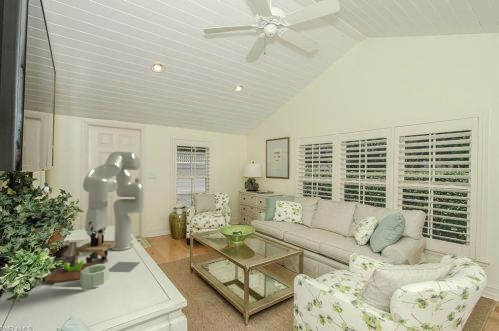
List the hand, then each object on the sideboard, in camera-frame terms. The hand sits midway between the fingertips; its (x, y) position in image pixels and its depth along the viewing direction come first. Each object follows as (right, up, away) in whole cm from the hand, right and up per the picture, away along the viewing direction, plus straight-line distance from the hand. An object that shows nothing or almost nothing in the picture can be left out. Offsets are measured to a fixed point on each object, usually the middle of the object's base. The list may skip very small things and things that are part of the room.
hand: (97, 244), depth 111 cm
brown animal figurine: (-13, -18, +22) cm, 31 cm away
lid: (0, -1, 0) cm, 1 cm away
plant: (-16, -18, +7) cm, 25 cm away
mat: (+4, -18, +15) cm, 24 cm away
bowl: (-1, -18, -1) cm, 18 cm away
